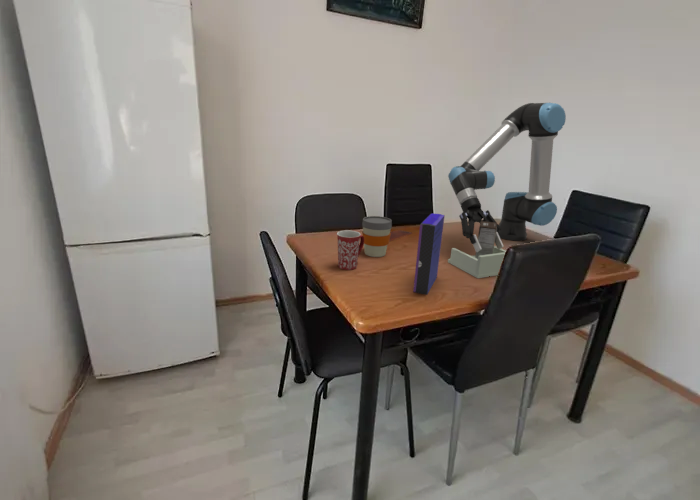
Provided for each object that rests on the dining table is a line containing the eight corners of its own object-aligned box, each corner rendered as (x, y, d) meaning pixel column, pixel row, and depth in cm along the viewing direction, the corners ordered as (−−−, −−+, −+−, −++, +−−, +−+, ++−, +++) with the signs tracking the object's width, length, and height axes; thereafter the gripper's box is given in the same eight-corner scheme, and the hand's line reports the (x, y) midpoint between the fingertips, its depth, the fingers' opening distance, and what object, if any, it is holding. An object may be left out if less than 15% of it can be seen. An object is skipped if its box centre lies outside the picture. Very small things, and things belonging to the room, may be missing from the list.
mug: (346, 272, 149) (348, 238, 144) (331, 265, 155) (332, 232, 150) (370, 265, 157) (372, 232, 152) (354, 259, 163) (356, 227, 159)
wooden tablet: (381, 245, 184) (382, 241, 184) (365, 240, 191) (366, 236, 190) (415, 234, 203) (415, 231, 202) (399, 230, 209) (400, 227, 209)
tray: (485, 257, 172) (488, 238, 169) (517, 272, 157) (521, 251, 154) (447, 262, 164) (450, 242, 161) (477, 278, 149) (481, 257, 146)
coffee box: (474, 257, 165) (480, 220, 160) (490, 260, 163) (497, 222, 158) (473, 265, 157) (479, 226, 151) (490, 267, 155) (497, 228, 150)
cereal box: (424, 274, 150) (431, 212, 142) (437, 277, 148) (444, 214, 141) (413, 292, 135) (420, 223, 127) (427, 294, 133) (435, 225, 125)
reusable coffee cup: (395, 254, 171) (398, 220, 166) (377, 260, 162) (379, 225, 158) (373, 246, 179) (375, 214, 174) (354, 252, 170) (356, 219, 166)
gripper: (485, 205, 171) (506, 250, 163) (441, 208, 162) (461, 256, 154) (495, 195, 165) (518, 242, 157) (451, 197, 156) (472, 247, 148)
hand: (490, 249), depth 155 cm, fingers closed on coffee box, 10 cm apart
